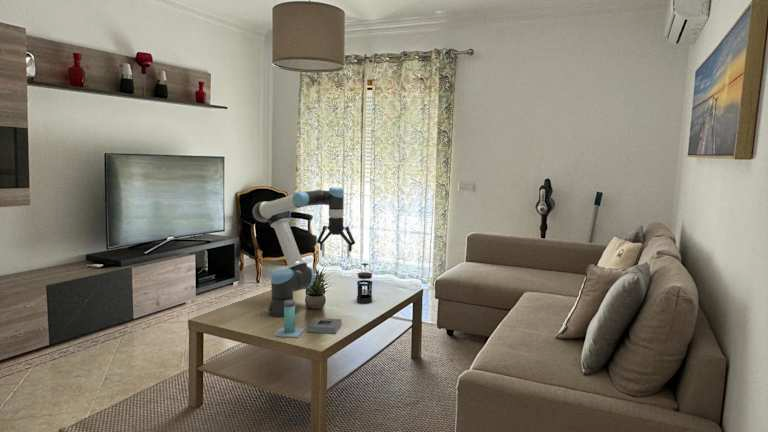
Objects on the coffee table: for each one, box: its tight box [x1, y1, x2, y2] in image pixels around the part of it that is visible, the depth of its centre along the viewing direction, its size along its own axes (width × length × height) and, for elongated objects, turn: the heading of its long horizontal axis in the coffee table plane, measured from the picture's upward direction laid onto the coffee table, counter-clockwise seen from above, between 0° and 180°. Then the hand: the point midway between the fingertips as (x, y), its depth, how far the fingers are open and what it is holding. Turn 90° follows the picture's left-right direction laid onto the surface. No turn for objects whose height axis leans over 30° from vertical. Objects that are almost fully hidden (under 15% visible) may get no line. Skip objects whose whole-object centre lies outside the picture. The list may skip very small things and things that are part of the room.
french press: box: [356, 262, 373, 305], centre depth 314 cm, size 12×9×23 cm
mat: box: [273, 326, 306, 339], centre depth 259 cm, size 12×12×1 cm
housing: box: [306, 317, 343, 335], centre depth 266 cm, size 14×14×3 cm
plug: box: [283, 299, 296, 333], centre depth 258 cm, size 5×5×15 cm
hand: (335, 257), depth 281 cm, fingers open, 13 cm apart
